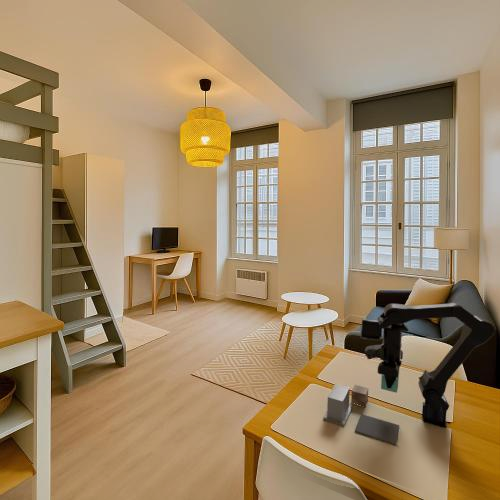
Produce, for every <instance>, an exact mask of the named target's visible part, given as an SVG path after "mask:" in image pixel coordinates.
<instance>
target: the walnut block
mask: <svg viewBox="0 0 500 500" xmlns="http://www.w3.org/2000/svg"><path fill="white" fill-rule="evenodd" d="M350 399H351V400H350V404H351V403H355V404H358V405H361V406H360V407H362V406H364V407H363V408H366V407H367V405H366V404H368V401H369V388H368V387H366V386H362V385H359V384H358V385H357V384H354V385H353V387H352V390H351V397H350ZM355 404H354V405H355ZM358 405H357V406H358Z"/></svg>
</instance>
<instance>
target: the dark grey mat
mask: <svg viewBox="0 0 500 500" xmlns="http://www.w3.org/2000/svg"><path fill="white" fill-rule="evenodd" d="M399 429H400V424H396V423H393V422H390V421H386V420H383V419H379V418H376V417H373V416H370V415H366V414H364V413H360V416H359V418H358V421H357V424H356V426H355V429H354V433H357V434H360V435H363V436H366V437H369V438H372V439H374V440H375V439H376V440H378V441H381V442H384V443H387V444H390V445H393V446H397V442H398V436H399Z"/></svg>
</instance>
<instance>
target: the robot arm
mask: <svg viewBox="0 0 500 500" xmlns="http://www.w3.org/2000/svg"><path fill="white" fill-rule="evenodd" d="M441 318H442V319H444V318H456V319H457V320H458V321H460V322H461V323H463V324H464V325H463V326H462V329H461V333H460V337H459V339H458V340H457V341H456V342H455V344H454V345H453V346H452V347H451V348H450V350H449V351H448V352H447V353H446V354H445V356H444V357H443V358H442V359H441V361H440V362H439V364H438V365H437V367H435V369H434V370H432V371H430V372H429V371H428V370H427V369H425V370H424V371H423V373H422V374H421V376H419V377H418V379H419V380H418V384H417V385H418V388H419V390H420V393H421V395H422V397H423V399H424V401H423V402H422V410H421V411H422V413H421V417H422V419H423V423H425V424H429V425H432V426H436V427H440V428H443V429H446V428H447V412H448V410H449V408H450V403H449V402H448V400H447V399H446V397H445V395H444V394H445V392H446V388H447V385H448V381H449V380H450V379H451V378H452V376H453V375H454V374H455V373H456V371H457V370H458V369H459V368H460V367H461V365H462V364H463V363H464V362H465V360H466V359H467V358H468V357H469V356H470V354H471V353H472V351H474V349H476V348H477V347H479V346H481V345H483V344H486V342H488V341H489V340H490V339H491V338H492V337H493V336H494V335H495V332H496V331H495V327H494V326H493V324H492V323H490V322H489V321H488V320H486V319H485V318H484V317H483V316H480V315H474V314H472V313H471V312H469V311H468V310H467V309H465V308H464V307H463V306H461V305H460V304H459V303H457V302H449V303H439V304H438V303H436V304H423V305H406V304H401V303H388V304H386V306H385V307H383V312H382V313H381V314H380V315H379V316H378V318H377V320H375V319H369V318H362V319H361V325H360V339H365V340H373V341H378V340H380V339H381V338H382V344H375V345H374V344H373V345H369V346H368V345H367V346H366V347H365V349H364V352H365V354H364V355H365V357H366V358H367V360H371V359H378V358H380V360H381V362H379V364H378V366H377V374H378V375H381V376H382V375H384V376H385V380H386V385H387V388H389V389H391V387H392V385H393V384H394V382H395V380H396V378H398V376H399V377H400V368H401V366H402V364H403V363H402V361H403V358H404V351H403V350H402V349H401V348H402V345H403V344H402V333H403V332H409V331H410V330H409V328H408V326H407V325H406V323H408V322H411V321H413V320H414V321H415V320H423V319H424V320H428V319H441ZM382 332H383V333H382ZM382 336H383V337H382Z"/></svg>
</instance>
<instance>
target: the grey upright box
mask: <svg viewBox="0 0 500 500" xmlns="http://www.w3.org/2000/svg"><path fill="white" fill-rule="evenodd" d="M350 390H351V388H350V387H349V386H345V385H341V384H337V383H335V384H334V386H333V388H332V389H331V391H330V392H329V395H328V396H327V404H326V405H327V408H326V412H325V413H324V416H323V419H322V420H323V421H327V422H330V423H333V424H336V425H338V426H340V427H346V423H347V422H348V419H349V416H350V415H349V414H351V412H352V410H351V409H353V404H350V393H351V391H350Z"/></svg>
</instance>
